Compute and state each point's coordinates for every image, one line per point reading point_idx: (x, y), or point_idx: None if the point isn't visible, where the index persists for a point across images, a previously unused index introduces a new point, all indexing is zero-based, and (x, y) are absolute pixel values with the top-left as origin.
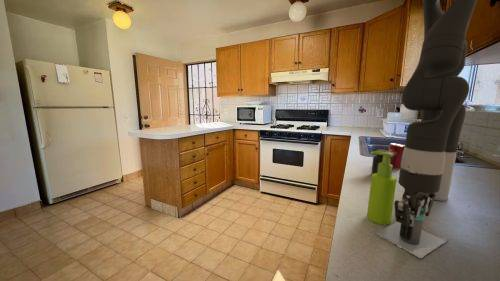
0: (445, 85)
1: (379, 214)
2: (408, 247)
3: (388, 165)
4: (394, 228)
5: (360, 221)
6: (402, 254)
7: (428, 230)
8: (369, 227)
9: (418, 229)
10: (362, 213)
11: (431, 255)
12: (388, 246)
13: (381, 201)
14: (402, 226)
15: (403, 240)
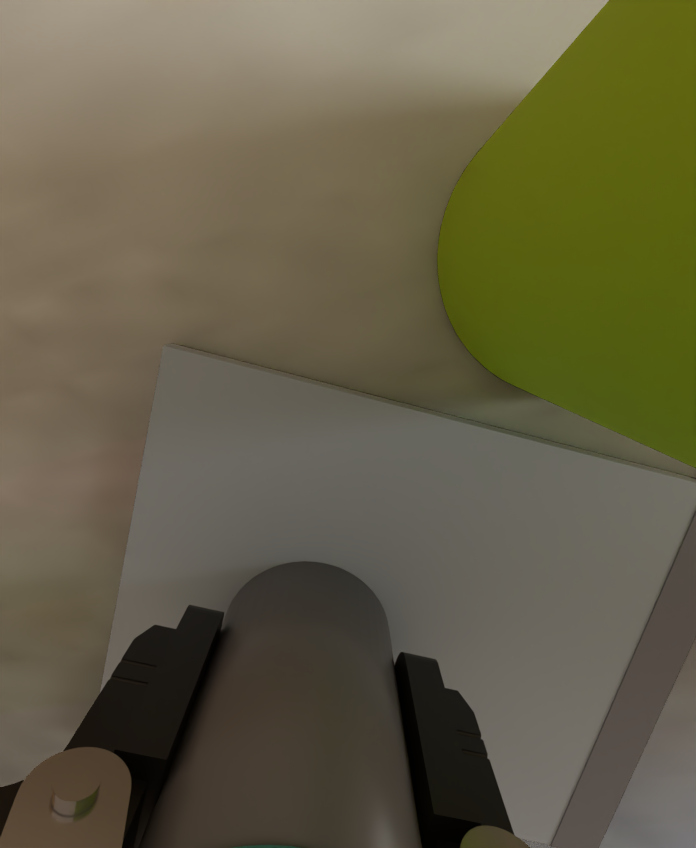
0: None
1: (476, 289)
2: None
3: None
4: (429, 480)
5: (328, 87)
6: (46, 620)
7: (649, 728)
8: (269, 239)
9: None
10: (597, 13)
11: None
12: (61, 506)
13: (599, 282)
14: (79, 741)
15: (230, 605)
